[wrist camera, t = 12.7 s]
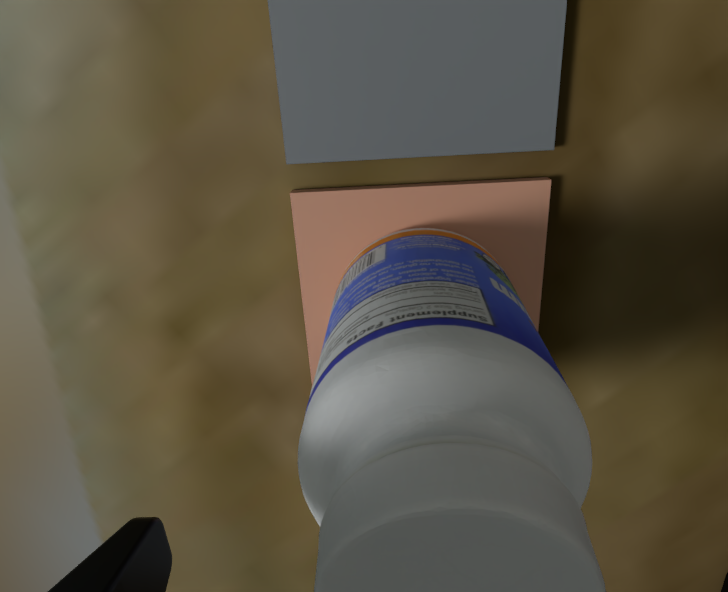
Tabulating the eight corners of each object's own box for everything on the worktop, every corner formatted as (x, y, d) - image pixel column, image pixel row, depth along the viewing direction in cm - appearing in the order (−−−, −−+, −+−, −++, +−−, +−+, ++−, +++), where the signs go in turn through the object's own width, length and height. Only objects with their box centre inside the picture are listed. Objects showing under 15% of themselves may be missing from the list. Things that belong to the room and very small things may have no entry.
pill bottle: (521, 365, 17) (674, 715, 8) (356, 395, 17) (325, 747, 8) (497, 202, 14) (673, 427, 6) (311, 243, 15) (206, 502, 6)
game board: (704, -969, 8) (720, -1021, 7) (537, 561, 21) (540, 570, 20) (114, -877, 8) (101, -921, 8) (312, 564, 21) (311, 573, 21)
